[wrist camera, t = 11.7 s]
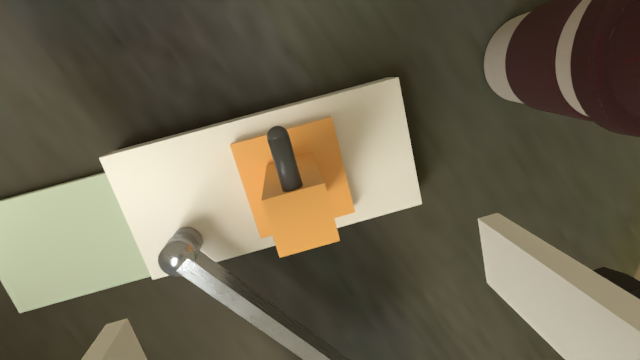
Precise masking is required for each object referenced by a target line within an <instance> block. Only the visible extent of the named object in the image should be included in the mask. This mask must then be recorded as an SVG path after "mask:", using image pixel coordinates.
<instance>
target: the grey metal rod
mask: <svg viewBox="0 0 640 360" xmlns="http://www.w3.org/2000/svg"><path fill="white" fill-rule="evenodd" d="M158 264H159V266H160V268H161V269H162V271H163V272H165V273H166V274H168V275H171V276H176V277H178V276H184V277H185V278H186V279H188V280H189V281H191V282H192V283H194V284H195V285H197V286H198V287H199V288H201V289H202V290H204V291H205V292H207V293H208V294H210V295H211V296H212V297H214V298H215V299H217V300H218V301H220V302H221V303H222V304H224V305H225V306H227V307H228V308H230V309H231V310H233V311H234V312H235V313H237V314H238V315H240V316H241V317H243V318H244V319H246V320H247V321H248V322H250V323H251V324H253V325H254V326H256V327H257V328H259V329H260V330H261V331H263V332H264V333H266V334H267V335H269V336H270V337H271V338H273V339H274V340H276V341H277V342H279V343H280V344H282V345H283V346H284V347H286V348H287V349H289V350H290V351H292V352H293V353H295V354H296V355H297V356H299V357H300V358H302V359H303V360H350V359H348V358H347V357H346V356H344V355H343V354H342V353H340V352H339V351H337V350H336V349H335V348H333V347H332V346H330V345H329V344H328V343H326V342H325V341H324V340H322V339H321V338H319V337H318V336H317V335H315V334H314V333H313V332H311V331H310V330H308V329H307V328H306V327H304V326H303V325H302V324H300V323H299V322H297V321H296V320H295V319H293V318H292V317H291V316H289V315H288V314H286V313H285V312H284V311H282V310H281V309H280V308H278V307H277V306H275V305H274V304H273V303H271V302H270V301H269V300H267V299H266V298H264V297H263V296H262V295H260V294H259V293H257V292H256V291H255V290H253V289H252V288H251V287H249V286H248V285H246V284H245V283H244V282H242V281H241V280H240V279H238V278H237V277H235V276H234V275H233V274H231V273H230V272H229V271H227V270H226V269H224V268H223V267H222V266H220V265H219V264H218V263H216V262H215V261H213V260H212V259H211V258H209V257H208V256H207V255H205V254H204V253H202V252H201V251H200V245H199V243H198V241H197V240H196V239H195V238H194V237H192V236H191V235H188V234H177V235H174V236H172V237H171V238H170V239H169V240H168V242H167V243H166V245H165V246H164V248H163V249H162V250H161V252H160V254H159V256H158Z"/></svg>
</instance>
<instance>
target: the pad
mask: <svg viewBox="0 0 640 360" xmlns="http://www.w3.org/2000/svg"><path fill="white" fill-rule="evenodd" d="M150 276H151V275H150V273H149V271H148V269H147V266H146V264H145V262H144V260H143V257H142V255H141V253H140V250H139V248H138V246H137V244H136V241H135V239H134V237H133V235H132V232H131V230H130V228H129V225H128V223H127V221H126V219H125V216H124V214H123V212H122V210H121V207H120V205H119V203H118V200H117V198H116V196H115V194H114V191H113V189H112V187H111V185H110V182H109V180H108V178H107V176H106V173H105V172H103V173H99V174H95V175H92V176H88V177H84V178H81V179H77V180H73V181H69V182H66V183H62V184H58V185H55V186H51V187H47V188H44V189H40V190H36V191H32V192H29V193H25V194H21V195H18V196H14V197H10V198H7V199H3V200H0V281H1V282H2V284H3V286H4V288H5V289H6V291H7V293H8V294H9V296H10V298H11V300H12V301H13V303H14V305H15V307H16V308H17V310H18V312H19V313H23V312H26V311H30V310H33V309H37V308H40V307H44V306H47V305H51V304H55V303H58V302H62V301H65V300H69V299H72V298H76V297H79V296H83V295H87V294H90V293H94V292H97V291H101V290H104V289H108V288H111V287H115V286H118V285H122V284H126V283H129V282H133V281H136V280H140V279H143V278H147V277H150Z"/></svg>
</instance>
